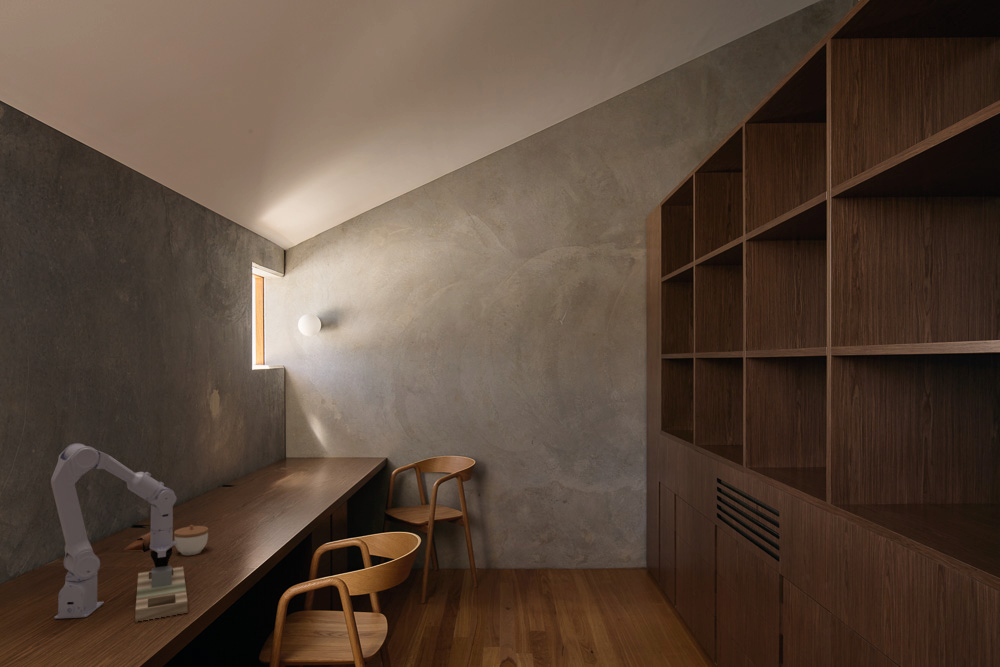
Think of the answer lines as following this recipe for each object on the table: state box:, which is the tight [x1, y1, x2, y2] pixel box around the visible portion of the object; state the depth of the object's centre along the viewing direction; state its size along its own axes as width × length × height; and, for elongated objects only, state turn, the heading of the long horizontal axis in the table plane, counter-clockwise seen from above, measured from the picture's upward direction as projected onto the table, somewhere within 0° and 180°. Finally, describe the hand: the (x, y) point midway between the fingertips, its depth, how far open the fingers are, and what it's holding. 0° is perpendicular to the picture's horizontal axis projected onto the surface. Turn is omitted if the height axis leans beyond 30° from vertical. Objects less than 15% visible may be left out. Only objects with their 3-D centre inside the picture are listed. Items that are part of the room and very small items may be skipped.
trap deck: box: [134, 565, 189, 623], centre depth 182 cm, size 32×12×3 cm, turn 28°
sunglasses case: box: [123, 531, 151, 552], centre depth 232 cm, size 18×7×7 cm
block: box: [151, 564, 173, 588], centre depth 185 cm, size 5×5×4 cm
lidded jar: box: [173, 524, 209, 556], centre depth 223 cm, size 11×11×9 cm
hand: (161, 575), depth 188 cm, fingers closed
